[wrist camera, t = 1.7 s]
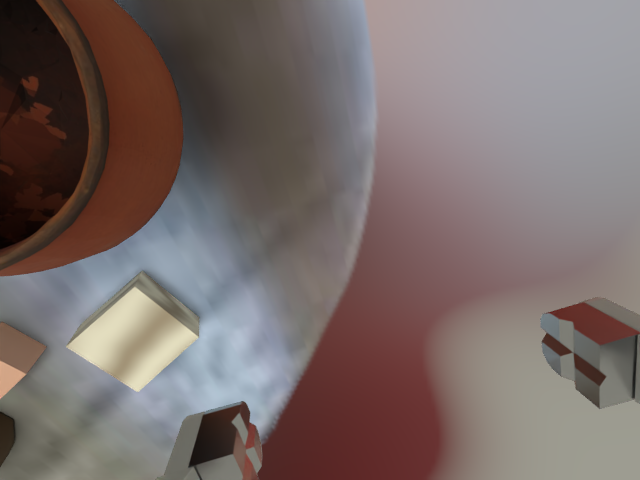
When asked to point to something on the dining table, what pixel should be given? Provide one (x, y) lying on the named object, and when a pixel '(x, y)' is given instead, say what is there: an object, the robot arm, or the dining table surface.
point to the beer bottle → (5, 436)
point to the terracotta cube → (16, 356)
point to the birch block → (136, 332)
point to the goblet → (80, 131)
